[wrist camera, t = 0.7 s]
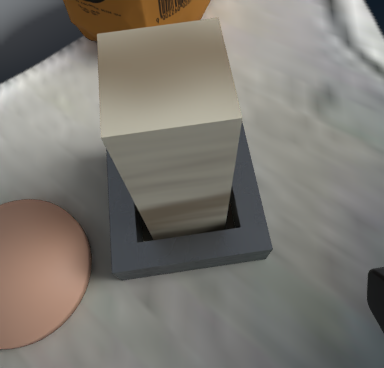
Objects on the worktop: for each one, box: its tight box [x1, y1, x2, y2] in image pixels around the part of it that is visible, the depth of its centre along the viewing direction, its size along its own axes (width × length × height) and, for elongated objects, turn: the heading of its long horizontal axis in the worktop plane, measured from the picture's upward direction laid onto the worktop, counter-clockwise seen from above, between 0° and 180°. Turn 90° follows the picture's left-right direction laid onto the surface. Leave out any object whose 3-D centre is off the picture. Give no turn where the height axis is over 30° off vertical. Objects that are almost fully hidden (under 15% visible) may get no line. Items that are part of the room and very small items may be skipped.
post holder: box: [106, 123, 273, 280], centre depth 22 cm, size 9×9×2 cm
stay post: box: [97, 18, 242, 240], centre depth 18 cm, size 5×5×12 cm
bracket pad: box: [0, 199, 92, 349], centre depth 22 cm, size 9×9×1 cm
